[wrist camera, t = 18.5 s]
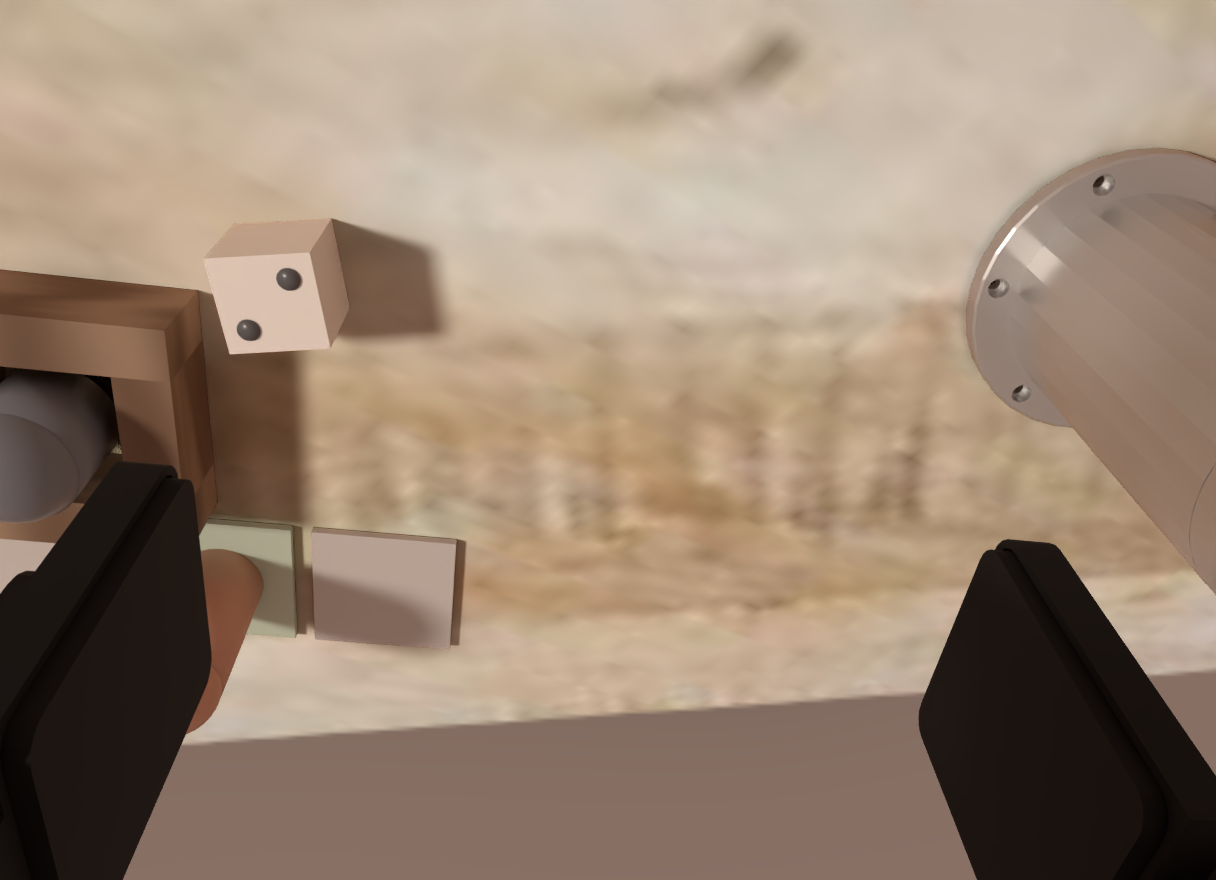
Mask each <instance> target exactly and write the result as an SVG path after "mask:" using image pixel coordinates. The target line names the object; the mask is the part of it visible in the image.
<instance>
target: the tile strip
mask: <svg viewBox="0 0 1216 880" xmlns="http://www.w3.org/2000/svg"><path fill="white" fill-rule="evenodd" d="M311 535H312V566H313V596H314V627H315V639H316V640H330V641H344V642H357V643H371V644H384V645H398V646H411V647H425V648H439V649H450V641H451V625H452V609H453V593H454V577H455V560H456V544H457V539H446V538H434V537H422V536H410V535H398V534H386V533H374V532H363V531H351V530H339V529H327V528H315V527H313V529H312V532H311ZM199 539H200V549H201V551H203V550H208V549H224V550H229V551H233V552H236V553H238V554H240V555H242V556H244V557H246V558H247V559H249V560H250V561H251V562H252V563H253V564H254V565H255V566H256V567H257V568H258V570H259V571H260V573H261V575H262V578H263V582H264V589H263V593H262V595H261V598H260V600H259V603H258V605H257V608H256V610H255V613H254V615H253V618H252V620H251V623H250V625H249V628H248V630H247V633H246V634H249V635H262V636H276V637H289V638H296V635H297V616H296V594H295V572H294V550H293V527H292V526H291V525H279V524H267V523H255V522H244V521H232V520H220V519H208V521H207V523H206V525H205V527H204V528H203V530H202V532H201V534H200V536H199ZM54 545H55V543H46V542H33V541H21V540H8V539H0V593H1V592H2V591H3V589H4V588H5V587H6V585H7V584H8V583H9V582H10V581H11V580H12V579H13V578H14V577H15V576H16V575H17V574H19V573H22V572H24V571H36V569H37V568H38V567H39V565H40V564H41V562H42V561H43V560H44V558H45V557H46V556H47V554H48V553H49V552H50V550H51V549H52V548H53V546H54Z"/></svg>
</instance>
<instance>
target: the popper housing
mask: <svg viewBox="0 0 1216 880" xmlns="http://www.w3.org/2000/svg"><path fill="white" fill-rule="evenodd" d="M3 367H12V368H23V369H33V370H44V371H54V372H64V373H75V374H85V375H96V376H106V377H111V383H112V390H113V397H114V403H115V410H116V417H117V424H118V430H119V437H120V444H121V451H122V454H112V453H110V454H109V455H108V457H107V458H106V459H105V461H104V462H103V463H102V465H101V466H100V467H99V469H98V470H97V471H96V472H95V474H94V475H93V476H92V478H91V479H90V480H89V482H88V483H87V484H86V486H85V487H84V488H83V490H82V491H81V492H80V494H79V495H78V496H77V498H76V499H75V500H74V502H73V503H72V504H71V505H70V506H69V507H68V508H66V509H65V510H64V511H62V512H60V513H58V514H56V515H53V516H50V517H48V518H45V519H42V520H38V521H35V522H29V523H5V522H0V539H8V540H21V541H33V542H46V543H56V542H57V541H58V539H59V538H60V537H61V535H62V534H63V533H64V531H65V530H66V529H67V527H68V526H69V524H70V523H71V522H72V520H73V519H74V518H75V516H76V515H77V514H78V512H79V511H80V510H81V508H82V507H83V505H84V504H85V503H86V501H87V500H88V499H89V497H90V496H91V495H92V493H93V492H94V491H95V489H96V488H97V487H98V485H99V484H100V482H101V481H102V480H103V478H104V477H105V476H106V474H107V473H108V472H109V470H110V469H111V468H112V466H113V465H114V464H115V463H116V462H119V461H130V462H141V463H153V464H164V465H171V466H173V467H174V468H175V469H176V471H177V474H178V479H189V480H190V481H191V482H192V484H193V487H194V492H195V502H196V511H197V520H198V530H199V536H200V534H201V532H202V530H203V528H204V527H205V525H206V523H207V521H208V519H209V517H210V515H211V513H212V512H213V510H214V508H215V506H216V504H217V493H216V483H215V472H214V461H213V450H212V439H211V428H210V418H209V407H208V396H207V385H206V374H205V363H204V353H203V342H202V331H201V320H200V309H199V298H198V291H197V290H188V289H178V288H169V287H159V286H150V285H140V284H131V283H121V282H112V281H102V280H93V279H83V278H74V277H64V276H54V275H45V274H35V273H26V272H16V271H7V270H0V383H1V382H2V381H3V380H4V379H5V375H4V370H3Z"/></svg>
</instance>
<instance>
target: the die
mask: <svg viewBox="0 0 1216 880" xmlns="http://www.w3.org/2000/svg"><path fill="white" fill-rule="evenodd" d="M203 260H204V264H205V267H206V271H207V275H208V278H209V282H210V285H211V289H212V293H213V296H214V300H215V303H216V307H217V310H218V314H219V318H220V321H221V325H222V328H223V332H224V336H225V339H226V343H227V346H228V350H229V354H245V353H262V352H280V351H297V350H314V349H331V346H332V344H333V342H334V340H335V338H336V336H337V334H338V332H339V330H340V328H341V326H342V323H343V321H344V319H345V317H346V315H347V313H348V311H349V309H350V308H349V303H348V298H347V293H346V288H345V283H344V278H343V273H342V268H341V263H340V258H339V253H338V248H337V243H336V238H335V233H334V228H333V223H332V218H328V219H311V220H293V221H276V222H259V223H242V224H233V226H232V227H231V228H230V229H229V230H228V231H227V232H226V233H225V235H224V236H223V237H222V238H221V239H220V240H219V241H218V242H217V244H216V245H215V246H214V247H213V248H212V249H211V250H210V251H209V253H208V254H207V255H206V256H205V257H204V258H203Z"/></svg>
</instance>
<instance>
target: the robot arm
mask: <svg viewBox="0 0 1216 880" xmlns="http://www.w3.org/2000/svg"><path fill="white" fill-rule="evenodd" d="M1098 177H1099V179H1098V181H1097V182H1096V183H1094V182H1095V181H1096V179H1097V178H1098ZM995 280H996V281H995ZM993 281H995V283H994V284H992V285H990V284H991V283H992V282H993ZM966 335H967V339H968V344H969V348H970V352H971V356H972V358H973V360H974V362H975V364H976V366H977V368H978V370H979V372H980V374H981V376H982V377H983V379H984V380H985V381H986V382H987V384H988V385H989V386H990V387H991V389H992V390H993V392H994V393H995V394H996V395H997V396H998V397H999V398H1000V399H1001V400H1002V401H1003V402H1004V403H1005V404H1007V405H1008V406H1009V407H1010V408H1012V409H1014V410H1015V411H1017V412H1019V413H1021V414H1023V415H1025V416H1027V417H1028V418H1030V419H1032V420H1036V421H1039V422H1043V423H1046V424H1049V425H1053V426H1060V427H1070V428H1073V429H1074V430H1075V431H1076V432H1077V434H1078V435H1079V436H1080V437H1081V438H1082V439H1083V441H1084V442H1085V443H1086V444H1087V445H1088V447H1089V448H1090V449H1091V450H1092V451H1093V452H1094V454H1095V455H1096V456H1097V457H1098V458H1099V459H1100V461H1101V462H1102V463H1103V464H1104V465H1105V466H1106V468H1107V469H1108V470H1109V471H1110V472H1111V473H1112V475H1113V476H1114V477H1115V478H1116V479H1117V481H1118V482H1119V483H1120V484H1121V485H1122V486H1123V488H1124V489H1125V490H1126V491H1127V492H1128V493H1129V495H1130V496H1131V497H1132V498H1133V499H1134V500H1135V502H1136V503H1137V504H1138V505H1139V506H1140V507H1141V509H1142V510H1143V511H1144V512H1145V513H1146V514H1147V516H1148V517H1149V518H1150V519H1151V520H1152V522H1153V523H1154V524H1155V525H1156V526H1157V527H1158V529H1159V530H1160V531H1161V532H1162V533H1163V534H1164V536H1165V537H1166V538H1167V539H1168V540H1169V541H1170V543H1171V544H1172V545H1173V546H1174V547H1175V548H1176V550H1177V551H1178V552H1179V553H1180V554H1181V556H1182V557H1183V558H1184V559H1185V560H1186V561H1187V563H1188V564H1189V565H1190V566H1191V567H1192V568H1193V570H1194V571H1195V572H1196V573H1197V574H1198V575H1199V577H1200V578H1201V579H1202V580H1203V581H1204V582H1205V584H1207V585H1208V586H1209V588H1210V589H1211V590H1212V591H1213V592H1214V593H1215V594H1216V163H1215V162H1213V161H1211V160H1208V159H1206V158H1203V157H1200V156H1198V155H1195V154H1192V153H1189V152H1187V151H1179V150H1171V149H1163V148H1150V149H1136V150H1127V151H1123V152H1119V153H1115V154H1111V155H1107V156H1103V157H1099V158H1097V159H1094V160H1092V161H1090V162H1088V163H1085V164H1083V165H1081V166H1078V167H1076V168H1074V169H1071V170H1069V171H1067V172H1066V173H1064V174H1063V175H1061V176H1060V177H1058V178H1056V179H1055V180H1053V181H1052V182H1050V183H1049V184H1047V185H1045V186H1044V187H1042V188H1041V189H1040V190H1039V191H1037V192H1036V193H1035V194H1034V195H1033V196H1032V197H1030V198H1029V199H1028V200H1027V201H1026V202H1025V203H1024V204H1022V205H1021V206H1020V207H1019V208H1018V209H1017V210H1016V211H1015V212H1014V213H1013V214H1012V216H1011V217H1010V218H1009V219H1008V220H1007V222H1006V223H1005V224H1004V225H1003V226H1002V227H1001V229H1000V230H999V231H998V232H997V233H996V235H995V237H994V238H993V240H992V242H991V243H990V245H989V247H988V248H987V250H986V252H985V253H984V255H983V257H982V258H981V260H980V263H979V265H978V268H977V271H976V273H975V276H974V278H973V281H972V283H971V287H970V292H969V297H968V303H967V308H966ZM211 661H212V652H211V643H210V633H209V624H208V615H207V605H206V596H205V586H204V577H203V568H202V558H201V549H200V539H199V530H198V520H197V511H196V502H195V492H194V487H193V484H192V482H191V481H190V480H189V479H178V474H177V471H176V469H175V468H174V467H173V466H171V465H164V464H153V463H141V462H130V461H119V462H116V463H115V464H114V465H113V466H112V468H111V469H110V470H109V472H108V473H107V474H106V476H105V477H104V478H103V480H102V481H101V482H100V484H99V485H98V487H97V488H96V489H95V491H94V492H93V493H92V495H91V496H90V497H89V499H88V500H87V501H86V503H85V504H84V505H83V507H82V508H81V510H80V511H79V512H78V514H77V515H76V516H75V518H74V519H73V520H72V522H71V523H70V524H69V526H68V527H67V529H66V530H65V531H64V533H63V534H62V535H61V537H60V538H59V539H58V541H57V542H56V543H55V545H54V546H53V548H52V549H51V550H50V552H49V553H48V554H47V556H46V557H45V558H44V560H43V561H42V562H41V564H40V565H39V567H38V568H37V569H36V571H24V572H22V573H19V574H17V575H16V576H15V577H14V578H13V579H12V580H11V581H10V582H9V583H8V584H7V585H6V587H5V588H4V589H3V591H2V592H1V593H0V880H123V878H124V875H125V873H126V870H127V868H128V866H129V864H130V861H131V859H132V857H133V854H134V852H135V850H136V848H137V845H138V843H139V841H140V838H141V836H142V834H143V831H144V829H145V827H146V824H147V822H148V820H149V818H150V815H151V813H152V811H153V808H154V806H155V803H156V802H157V799H158V797H159V795H160V792H161V790H162V788H163V785H164V783H165V781H166V778H167V776H168V774H169V772H170V769H171V767H172V765H173V762H174V760H175V758H176V755H177V753H178V751H179V748H180V746H181V744H182V742H183V739H184V737H185V735H186V732H187V730H188V728H189V725H190V723H191V721H192V719H193V716H194V714H195V712H196V709H197V707H198V705H199V702H200V700H201V698H202V695H203V693H204V691H205V689H206V686H207V683H208V680H209V676H210V670H211ZM919 729H920V734H921V737H922V739H923V742H924V745H925V747H926V750H927V752H928V755H929V757H930V760H931V763H932V765H933V768H934V770H935V773H936V776H937V778H938V780H939V783H940V786H941V788H942V791H943V793H944V796H945V798H946V801H947V804H948V806H949V809H950V811H951V814H952V816H953V819H954V822H955V824H956V827H957V829H958V832H959V835H960V837H961V840H962V842H963V845H964V847H965V850H966V853H967V855H968V858H969V860H970V863H971V865H972V868H973V870H974V873H975V876H976V878H977V880H1216V776H1215V774H1214V773H1213V771H1212V770H1211V768H1210V767H1209V765H1208V764H1207V762H1206V761H1205V760H1204V758H1203V757H1202V756H1201V754H1200V752H1199V751H1198V749H1197V748H1196V747H1195V745H1194V744H1193V742H1192V741H1191V739H1190V738H1189V736H1188V735H1187V733H1186V732H1185V731H1184V729H1183V728H1182V726H1181V725H1180V723H1179V722H1178V720H1177V719H1176V717H1175V716H1174V715H1173V713H1172V712H1171V710H1170V709H1169V707H1168V706H1167V704H1166V703H1165V701H1164V700H1163V699H1162V697H1161V696H1160V694H1159V693H1158V691H1157V690H1156V688H1155V687H1154V686H1153V684H1152V683H1151V681H1150V680H1149V678H1148V677H1147V675H1146V674H1145V672H1144V671H1143V670H1142V668H1141V667H1140V665H1139V664H1138V662H1137V661H1136V659H1135V658H1134V656H1133V655H1132V654H1131V652H1130V651H1129V649H1128V648H1127V646H1126V645H1125V643H1124V642H1123V640H1122V639H1121V638H1120V636H1119V635H1118V633H1117V632H1116V630H1115V629H1114V627H1113V626H1112V625H1111V623H1110V622H1109V620H1108V619H1107V617H1106V616H1105V614H1104V613H1103V611H1102V610H1101V609H1100V607H1099V606H1098V604H1097V603H1096V601H1095V600H1094V598H1093V597H1092V595H1091V594H1090V593H1089V591H1088V590H1087V588H1086V587H1085V585H1084V584H1083V582H1082V581H1081V580H1080V578H1079V577H1078V575H1077V574H1076V572H1075V571H1074V569H1073V568H1072V566H1071V565H1070V564H1069V562H1068V561H1067V559H1066V558H1065V556H1064V555H1063V553H1062V552H1061V550H1060V549H1059V548H1058V547H1057V546H1056V545H1054V544H1051V543H1044V542H1033V541H1021V540H1010V539H1007V540H1003V541H1002V542H1001V543H999V544H998V545H997V547H996V549H995V550H988V551H986V552H985V553H984V554H983V555H982V557H981V559H980V561H979V564H978V566H977V569H976V571H975V573H974V576H973V578H972V581H971V583H970V586H969V588H968V590H967V593H966V595H965V598H964V600H963V603H962V605H961V608H960V610H959V612H958V615H957V617H956V620H955V622H954V625H953V627H952V630H951V632H950V634H949V637H948V639H947V642H946V644H945V647H944V649H943V651H942V654H941V656H940V659H939V661H938V664H937V666H936V669H935V671H934V673H933V676H932V678H931V681H930V683H929V686H928V688H927V690H926V693H925V695H924V698H923V700H922V703H921V707H920V710H919Z"/></svg>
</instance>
